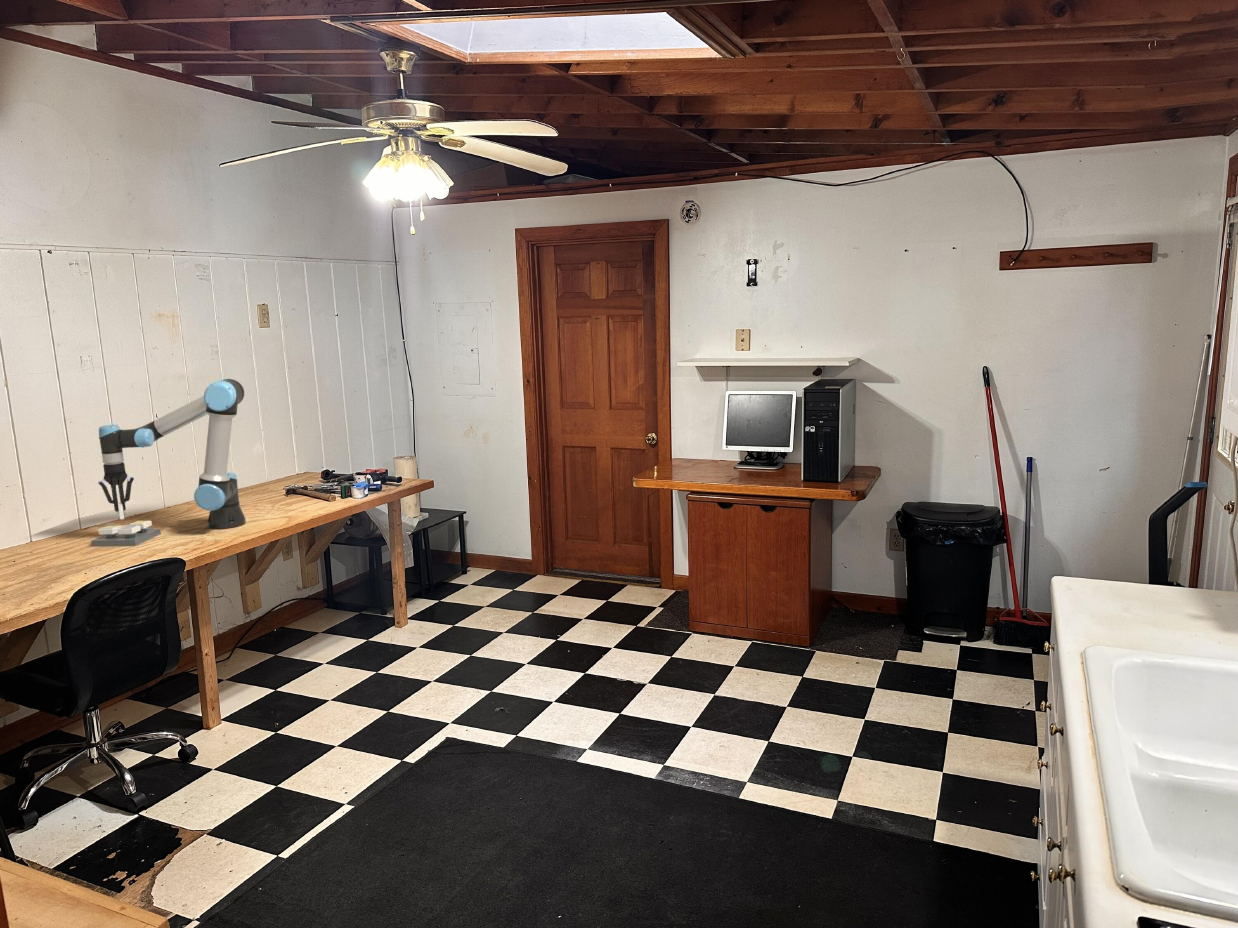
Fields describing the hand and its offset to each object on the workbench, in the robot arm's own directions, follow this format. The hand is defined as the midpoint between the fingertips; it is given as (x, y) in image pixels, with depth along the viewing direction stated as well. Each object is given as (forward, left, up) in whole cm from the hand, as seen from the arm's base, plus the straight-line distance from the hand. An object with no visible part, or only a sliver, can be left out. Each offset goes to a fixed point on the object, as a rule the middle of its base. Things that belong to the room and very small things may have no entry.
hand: (121, 518), depth 357 cm
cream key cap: (-8, 0, -6) cm, 10 cm away
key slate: (-8, +8, -6) cm, 13 cm away
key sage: (0, +8, -6) cm, 10 cm away
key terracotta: (0, 0, -8) cm, 8 cm away
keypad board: (-4, +4, -8) cm, 10 cm away
